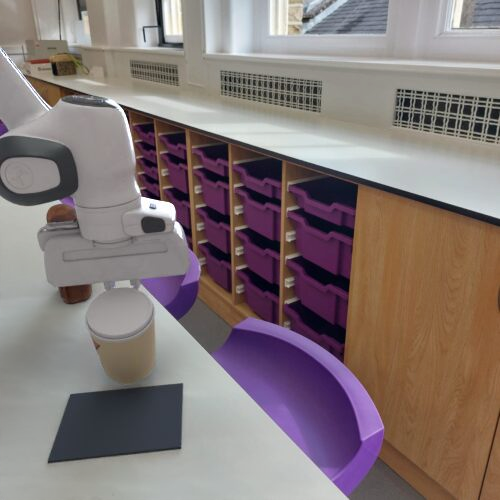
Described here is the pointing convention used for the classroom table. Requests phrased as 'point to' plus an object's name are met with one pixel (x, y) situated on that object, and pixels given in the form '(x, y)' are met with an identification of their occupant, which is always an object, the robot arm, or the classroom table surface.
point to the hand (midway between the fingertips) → (127, 303)
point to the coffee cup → (123, 333)
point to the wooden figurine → (61, 215)
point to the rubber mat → (119, 423)
